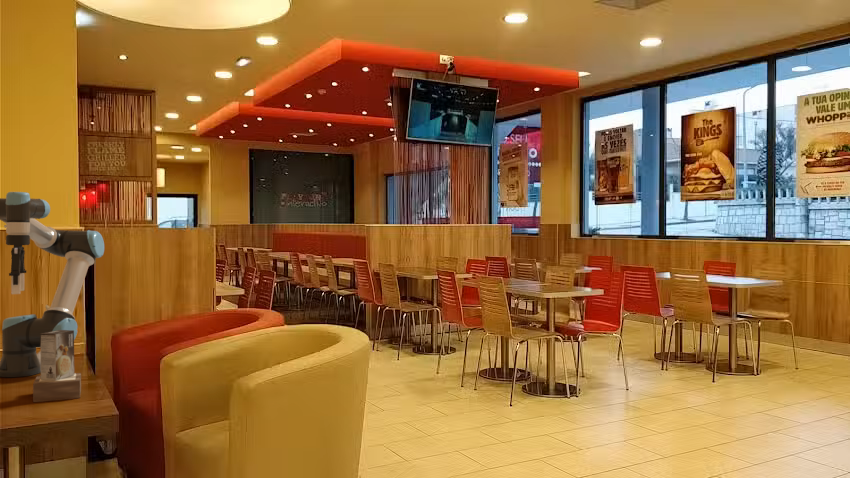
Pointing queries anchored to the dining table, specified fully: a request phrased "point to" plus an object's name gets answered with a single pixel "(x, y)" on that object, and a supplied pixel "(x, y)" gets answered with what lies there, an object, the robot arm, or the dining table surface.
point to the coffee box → (57, 354)
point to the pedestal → (57, 388)
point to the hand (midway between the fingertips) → (18, 292)
